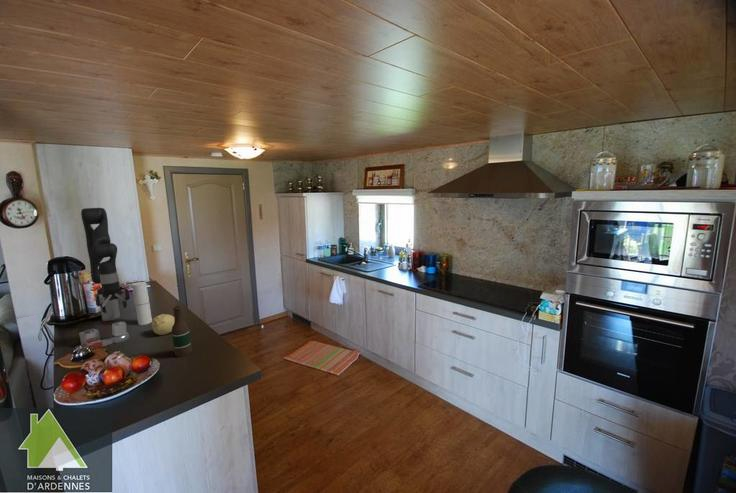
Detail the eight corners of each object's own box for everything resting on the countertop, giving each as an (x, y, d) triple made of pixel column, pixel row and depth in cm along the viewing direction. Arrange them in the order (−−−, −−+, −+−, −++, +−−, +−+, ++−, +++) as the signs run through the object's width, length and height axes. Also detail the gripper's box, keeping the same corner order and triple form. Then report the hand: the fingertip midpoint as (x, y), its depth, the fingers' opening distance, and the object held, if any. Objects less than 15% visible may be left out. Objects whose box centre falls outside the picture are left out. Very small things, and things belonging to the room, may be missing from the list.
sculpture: (150, 333, 188) (147, 315, 186) (173, 326, 197) (171, 309, 195) (156, 339, 180) (153, 320, 178) (180, 331, 189) (178, 313, 187)
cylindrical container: (145, 325, 200) (138, 285, 196) (135, 324, 201) (128, 285, 197) (155, 320, 207) (149, 281, 202) (145, 320, 208) (139, 281, 204)
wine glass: (75, 350, 169) (72, 337, 168) (126, 335, 186) (124, 323, 185) (79, 355, 164) (76, 341, 163) (131, 339, 181) (129, 326, 180)
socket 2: (112, 334, 180) (112, 322, 179) (123, 332, 183) (123, 320, 183) (115, 336, 176) (114, 324, 176) (126, 334, 180) (126, 322, 180)
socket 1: (81, 345, 176) (78, 331, 175) (94, 340, 181) (92, 327, 180) (87, 347, 173) (85, 333, 172) (100, 342, 179) (98, 329, 177)
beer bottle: (180, 358, 158) (173, 310, 154) (171, 354, 162) (164, 308, 158) (195, 351, 164) (189, 305, 160) (186, 348, 169) (180, 303, 164)
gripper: (123, 277, 182) (128, 305, 185) (91, 283, 172) (96, 312, 175) (128, 279, 178) (132, 307, 181) (94, 285, 167) (100, 316, 170)
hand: (115, 310), depth 178 cm, fingers open, 8 cm apart
